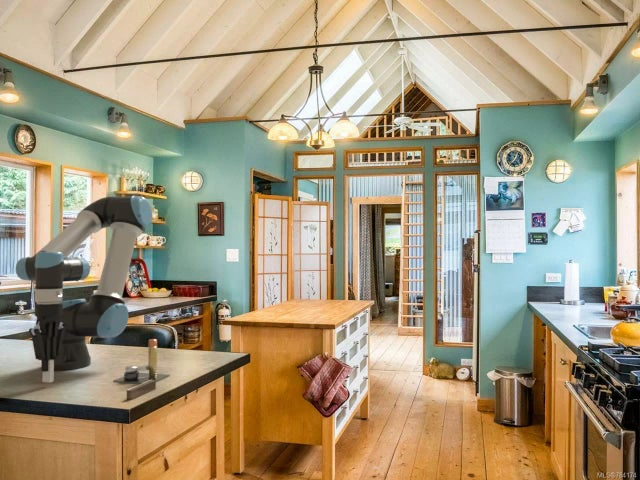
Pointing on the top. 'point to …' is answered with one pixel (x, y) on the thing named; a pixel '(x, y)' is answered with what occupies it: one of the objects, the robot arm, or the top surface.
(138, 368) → the crank
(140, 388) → the batten
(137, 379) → the crank base
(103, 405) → the top surface
